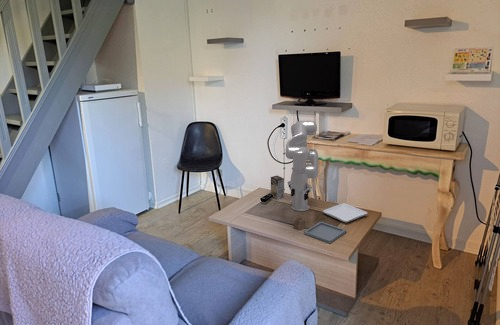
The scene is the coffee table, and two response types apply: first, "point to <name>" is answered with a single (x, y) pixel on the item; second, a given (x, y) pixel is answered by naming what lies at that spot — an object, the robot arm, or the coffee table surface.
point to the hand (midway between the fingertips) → (299, 197)
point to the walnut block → (299, 223)
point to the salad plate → (344, 212)
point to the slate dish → (325, 232)
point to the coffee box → (277, 187)
